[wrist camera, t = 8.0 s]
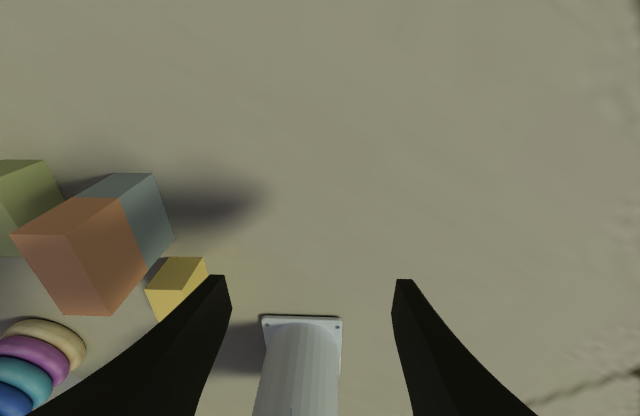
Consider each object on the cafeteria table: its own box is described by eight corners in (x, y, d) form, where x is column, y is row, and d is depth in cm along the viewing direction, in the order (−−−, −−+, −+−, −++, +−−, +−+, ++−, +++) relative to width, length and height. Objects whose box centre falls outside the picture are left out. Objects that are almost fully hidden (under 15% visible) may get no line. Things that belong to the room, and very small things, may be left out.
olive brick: (80, 226, 24) (37, 257, 21) (46, 226, 24) (-3, 256, 21) (45, 159, 21) (-13, 182, 18) (7, 159, 21) (-58, 181, 18)
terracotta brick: (148, 270, 21) (110, 316, 17) (108, 269, 21) (63, 314, 17) (118, 197, 18) (65, 235, 14) (72, 197, 18) (8, 234, 14)
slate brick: (174, 238, 24) (147, 271, 21) (140, 237, 24) (108, 270, 21) (152, 173, 21) (116, 198, 18) (114, 172, 21) (70, 197, 18)
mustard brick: (216, 303, 28) (199, 340, 25) (187, 303, 28) (166, 339, 25) (203, 256, 25) (182, 290, 22) (170, 255, 25) (143, 289, 22)
